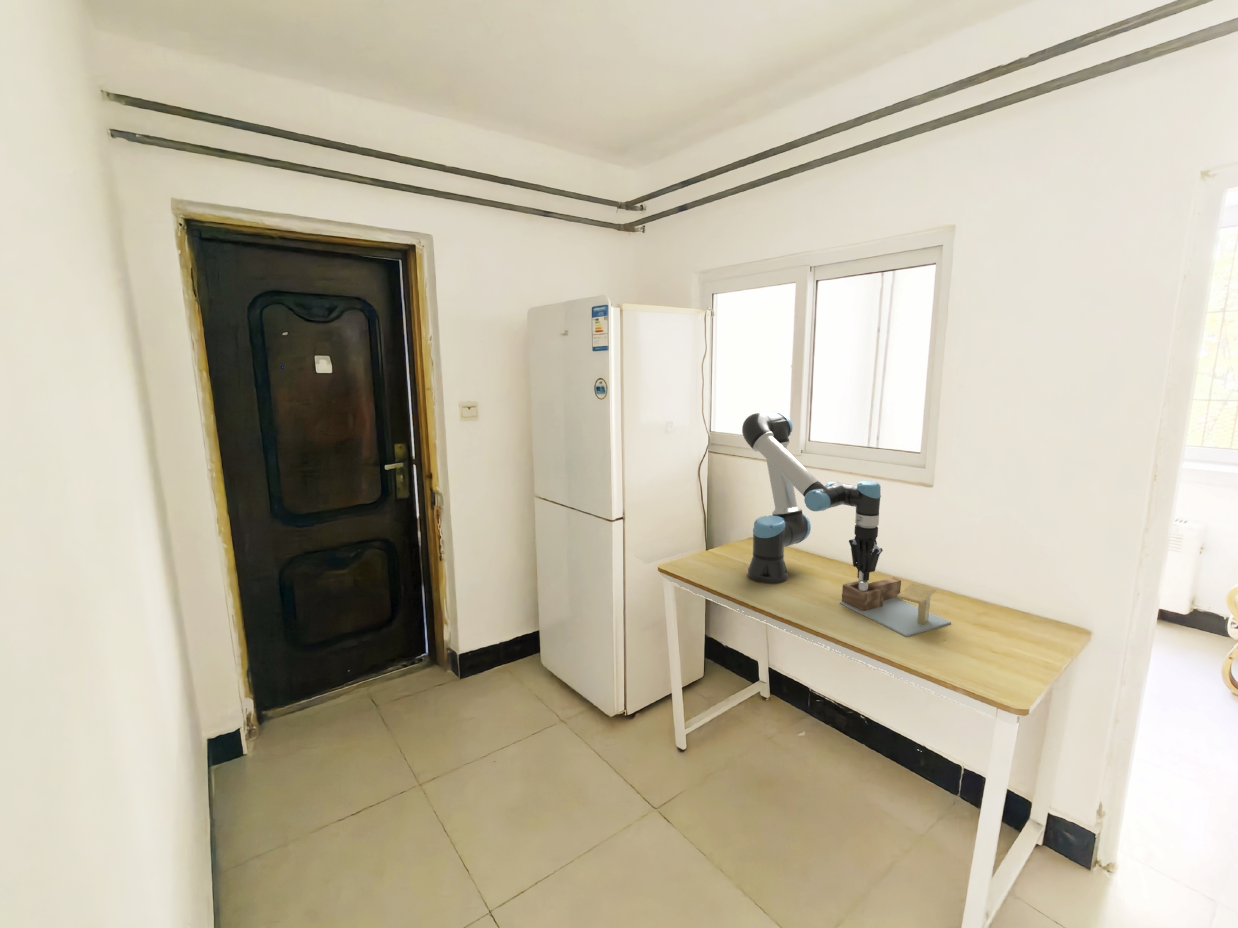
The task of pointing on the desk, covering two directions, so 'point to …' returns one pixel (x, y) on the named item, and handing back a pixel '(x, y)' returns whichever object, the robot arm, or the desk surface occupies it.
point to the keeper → (918, 600)
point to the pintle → (863, 586)
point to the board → (900, 617)
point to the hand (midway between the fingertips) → (862, 587)
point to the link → (871, 593)
